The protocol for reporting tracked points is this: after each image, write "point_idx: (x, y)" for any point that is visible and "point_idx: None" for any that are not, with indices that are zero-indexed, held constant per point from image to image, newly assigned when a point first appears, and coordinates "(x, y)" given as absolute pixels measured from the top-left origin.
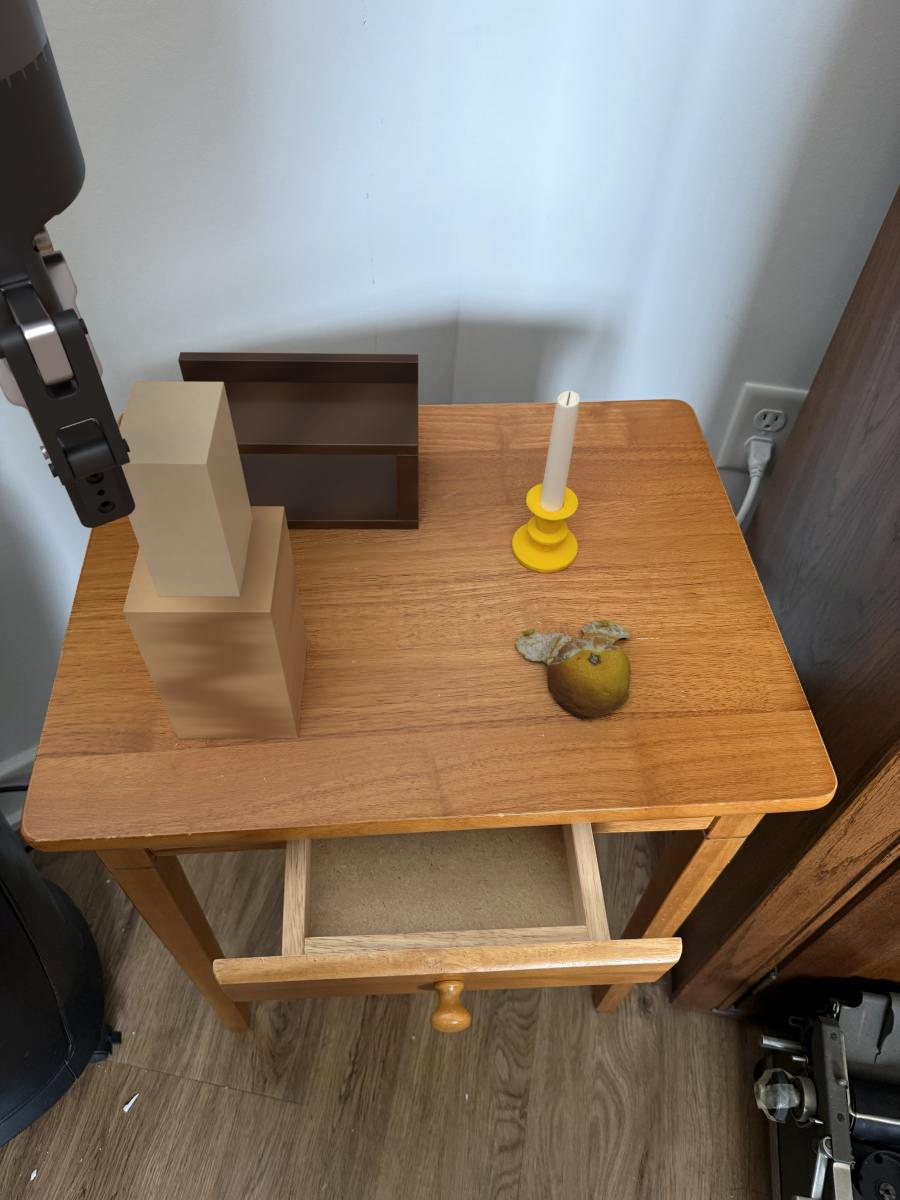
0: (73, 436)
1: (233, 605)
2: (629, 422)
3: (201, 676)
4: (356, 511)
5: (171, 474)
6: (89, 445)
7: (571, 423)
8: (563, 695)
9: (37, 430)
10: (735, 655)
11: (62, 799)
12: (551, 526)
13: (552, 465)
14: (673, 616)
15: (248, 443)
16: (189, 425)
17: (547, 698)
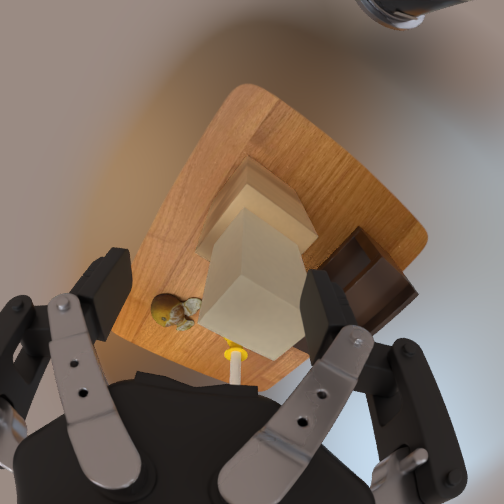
0: (44, 339)
1: (209, 239)
2: (269, 381)
3: (229, 189)
4: None
5: (213, 298)
6: (22, 343)
7: None
8: (162, 299)
9: (50, 325)
10: (157, 344)
11: (251, 95)
12: (230, 345)
13: (233, 371)
14: (181, 342)
15: (350, 288)
16: (243, 332)
17: (171, 292)
